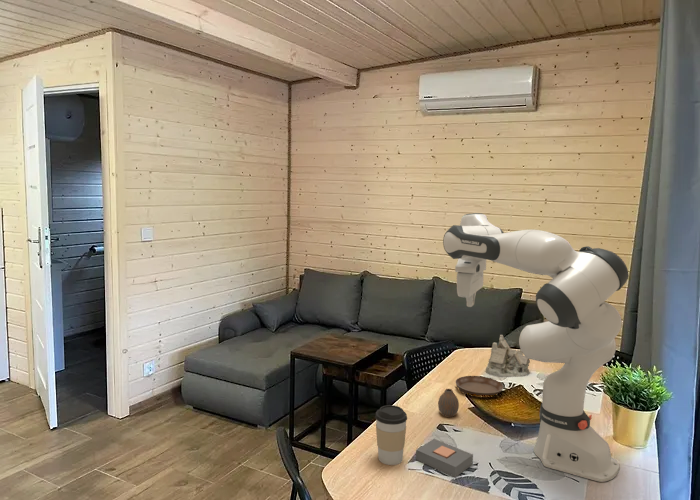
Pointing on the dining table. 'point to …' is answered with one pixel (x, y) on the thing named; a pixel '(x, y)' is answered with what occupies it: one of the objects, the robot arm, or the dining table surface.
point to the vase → (448, 403)
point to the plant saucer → (479, 385)
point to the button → (444, 452)
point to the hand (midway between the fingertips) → (470, 306)
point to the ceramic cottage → (507, 361)
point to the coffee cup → (390, 434)
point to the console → (446, 465)
